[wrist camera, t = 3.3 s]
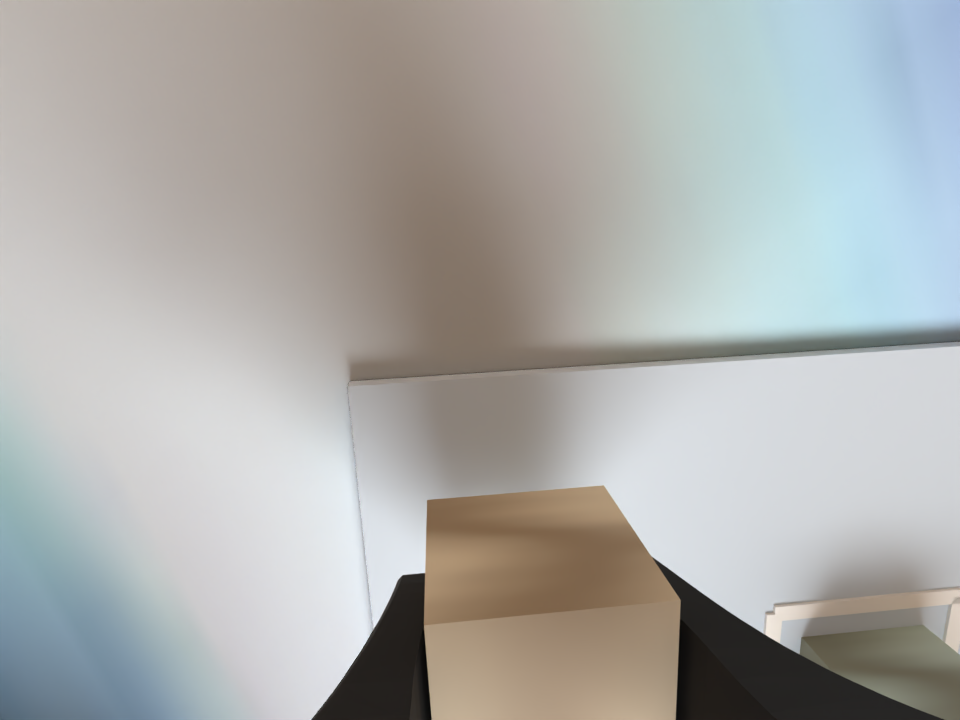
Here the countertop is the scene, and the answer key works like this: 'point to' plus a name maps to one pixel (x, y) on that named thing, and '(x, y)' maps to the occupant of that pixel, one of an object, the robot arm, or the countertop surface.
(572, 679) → the maple cube
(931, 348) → the white rectangular panel
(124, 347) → the countertop surface
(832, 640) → the sage base cube
